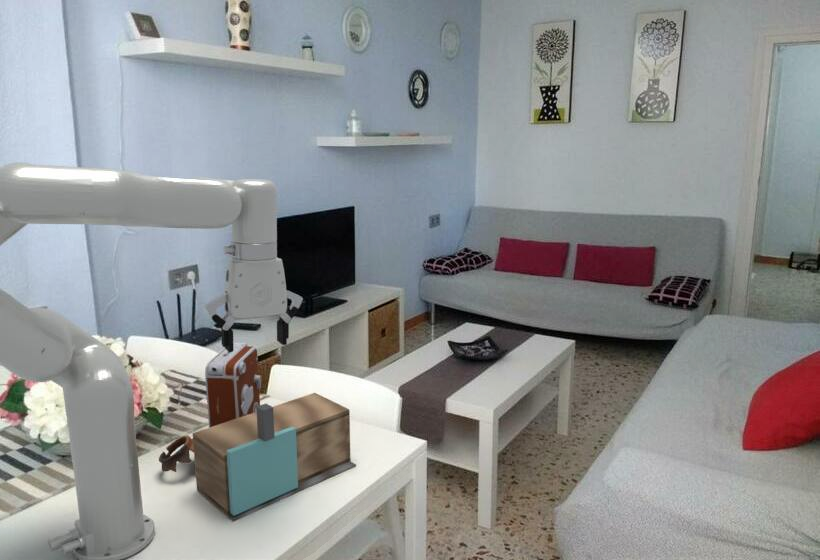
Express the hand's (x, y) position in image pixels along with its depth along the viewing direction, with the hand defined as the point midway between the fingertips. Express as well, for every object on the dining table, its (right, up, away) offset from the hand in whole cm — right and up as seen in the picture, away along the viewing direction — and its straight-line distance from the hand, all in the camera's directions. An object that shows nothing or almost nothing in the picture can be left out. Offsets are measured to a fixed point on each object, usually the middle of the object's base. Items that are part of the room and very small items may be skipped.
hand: (255, 346), depth 113 cm
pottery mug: (-17, -27, +17) cm, 36 cm away
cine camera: (-12, -23, +34) cm, 42 cm away
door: (+1, -29, +4) cm, 29 cm away
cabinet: (+1, -27, +14) cm, 31 cm away
